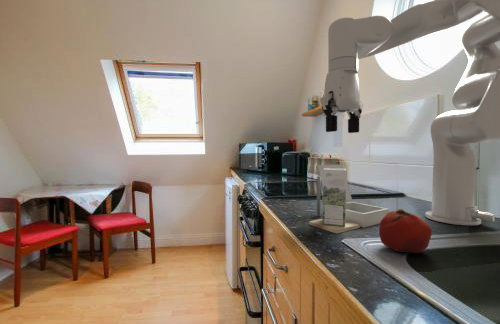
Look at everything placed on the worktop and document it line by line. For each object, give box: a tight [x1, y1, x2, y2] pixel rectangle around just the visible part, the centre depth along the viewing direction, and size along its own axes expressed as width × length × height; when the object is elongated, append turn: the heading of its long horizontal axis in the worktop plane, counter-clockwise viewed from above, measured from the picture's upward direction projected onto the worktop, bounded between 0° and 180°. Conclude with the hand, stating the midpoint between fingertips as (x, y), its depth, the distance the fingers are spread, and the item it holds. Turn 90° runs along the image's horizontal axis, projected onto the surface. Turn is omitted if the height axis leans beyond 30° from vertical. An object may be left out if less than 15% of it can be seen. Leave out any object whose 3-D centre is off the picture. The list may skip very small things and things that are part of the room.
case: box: [316, 176, 390, 228], centre depth 73 cm, size 15×14×12 cm
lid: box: [315, 164, 353, 202], centre depth 80 cm, size 12×12×1 cm
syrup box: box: [321, 167, 348, 227], centre depth 66 cm, size 6×6×14 cm
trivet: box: [308, 218, 360, 235], centre depth 66 cm, size 9×9×1 cm
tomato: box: [378, 208, 433, 254], centre depth 50 cm, size 9×9×8 cm
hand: (342, 132), depth 69 cm, fingers open, 9 cm apart
